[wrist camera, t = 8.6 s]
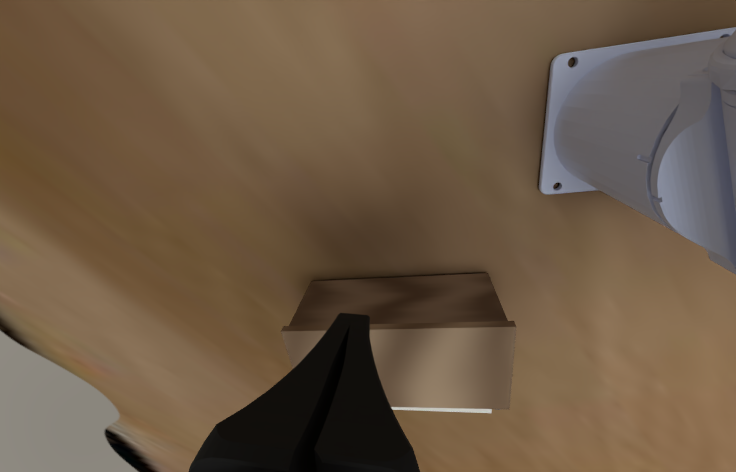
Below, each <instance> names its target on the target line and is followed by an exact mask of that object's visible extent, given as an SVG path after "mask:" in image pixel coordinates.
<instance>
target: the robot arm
mask: <svg viewBox="0 0 736 472" xmlns="http://www.w3.org/2000/svg"><path fill="white" fill-rule="evenodd" d="M721 36H723V38H720V37H721ZM572 57H573V58H574V59H575V64H574V65H573V66H572V67H571V68H570V67H569V66H568V61H569V59H570V58H572ZM555 183H559V184H560V185H559V187H558V188H555V189H553V186H554V184H555ZM539 190H540V191H541V192H542V193H544V194H560V193H572V192H584V191H596V190H600V191H602V192H604V193H606V194H607V195H609V196H611V197H613V198H615V199H616V200H618V201H620V202H622V203H624V204H625V205H627V206H629V207H631V208H633V209H634V210H636V211H638V212H640V213H642V214H644V215H645V216H647V217H649V218H651V219H653V220H654V221H656V222H658V223H660V224H662V225H663V226H665V227H667V228H669V229H671V230H673V231H674V232H676V233H679V234H680V235H682V236H683V237H685V238H687V239H689V240H691V241H692V242H694V243H696V244H698V245H700V246H702V247H704V248H705V249H706V251H707V252H708V255H709V258H710V260H712V261H713V262H715V263H717V264H719V265H720V266H722V267H724V268H725V269H727V270H729V271H731V272H732V273H734V274H736V27H733V28H727V29H720V30H714V31H707V32H701V33H694V34H687V35H681V36H674V37H668V38H661V39H655V40H648V41H642V42H635V43H628V44H622V45H615V46H609V47H602V48H596V49H589V50H583V51H576V52H570V53H563V54H560V55H557V56H556V57H555V58H554V59H553V60H552V63H551V67H550V77H549V88H548V98H547V108H546V118H545V128H544V138H543V149H542V159H541V169H540V179H539ZM189 472H420V470H419V467H418V464H417V460H416V457H415V454H414V451H413V448H412V446H411V444H410V443H409V441H408V439H407V438H406V436H405V434H404V432H403V430H402V429H401V427H400V425H399V423H398V421H397V419H396V417H395V415H394V413H393V410H392V408H391V406H390V404H389V402H388V399H387V397H386V394H385V392H384V389H383V387H382V384H381V381H380V378H379V375H378V372H377V368H376V365H375V361H374V357H373V353H372V348H371V342H370V317H369V316H368V315H361V314H350V313H340V314H338V316H337V317H336V319H335V320H334V322H333V323H332V325H331V326H330V327H329V329H328V330H327V331H326V333H325V334H324V335H323V337H322V338H321V339H320V340H319V341H318V343H317V344H316V345H315V346H314V348H313V349H312V350H311V351H310V352H309V353H308V354H307V355H306V356H305V357H304V359H303V360H302V361H301V362H300V363H299V364H298V365H297V366H296V367H295V368H294V369H293V370H292V371H290V372H289V373H288V374H287V375H286V376H285V377H284V378H283V379H281V380H280V381H279V382H278V383H277V384H276V385H274V386H273V387H272V388H271V389H269V390H268V391H267V392H266V393H264V394H263V395H261V396H260V397H259V398H257V399H256V400H254V401H253V402H252V403H250V404H249V405H247V406H246V407H244V408H243V409H241V410H240V411H238V412H236V413H235V414H233V415H231V416H230V417H228V418H226V419H225V420H223V421H221V422H220V423H218V424H216V426H215V427H214V429H213V430H212V432H211V433H210V434H209V436H208V437H207V439H206V440H205V442H204V443H203V445H202V447H201V448H200V450H199V452H198V454H197V455H196V457H195V459H194V461H193V462H192V464H191V466H190V469H189Z"/></svg>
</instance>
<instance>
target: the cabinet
mask: <svg viewBox="0 0 736 472" xmlns="http://www.w3.org/2000/svg"><path fill="white" fill-rule="evenodd" d="M340 313H350V314H361V315H368V316H369V317H370V342H371V348H372V353H373V357H374V361H375V365H376V368H377V372H378V375H379V378H380V381H381V384H382V387H383V389H384V392H385V394H386V397H387V399H388V402H389V404H390V406H391V407H418V408H465V409H509V408H510V396H511V384H512V372H513V360H514V348H515V336H516V325H515V323H514V321H508V320H507V318H506V316H505V313H504V311H503V308H502V306H501V304H500V301H499V299H498V296H497V294H496V292H495V289H494V287H493V284H492V282H491V280H490V277H489V275H488V273H478V274H457V275H435V276H414V277H393V278H372V279H351V280H330V281H311V283H310V285H309V287H308V289H307V291H306V293H305V295H304V297H303V299H302V301H301V303H300V305H299V307H298V309H297V311H296V313H295V315H294V317H293V319H292V321H291V323H290V325H289V326H284V327H283V328H282V330H281V333H282V336H283V339H284V343H285V346H286V349H287V352H288V355H289V358H290V361H291V364H292V367H293V369H294V368H295V367H296V366H297V365H298V364H299V363H300V362H301V361H302V360H303V359H304V357H305V356H306V355H307V354H308V353H309V352H310V351H311V350H312V349H313V348H314V346H315V345H316V344H317V343H318V341H319V340H320V339H321V338H322V337H323V335H324V334H325V333H326V331H327V330H328V329H329V327H330V326H331V325H332V323H333V322H334V320H335V319H336V317H337V316H338V314H340Z"/></svg>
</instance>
